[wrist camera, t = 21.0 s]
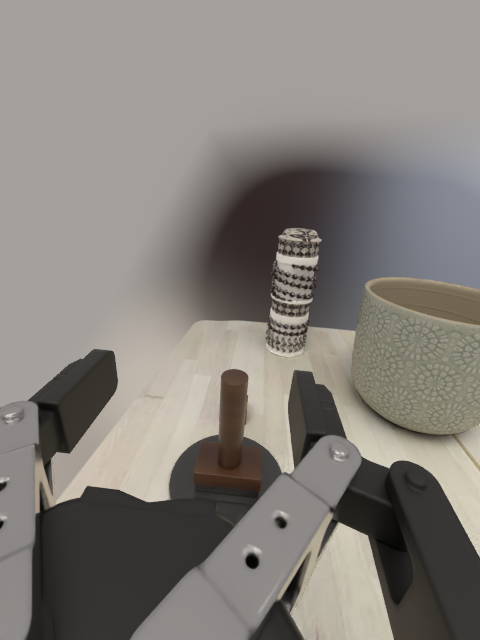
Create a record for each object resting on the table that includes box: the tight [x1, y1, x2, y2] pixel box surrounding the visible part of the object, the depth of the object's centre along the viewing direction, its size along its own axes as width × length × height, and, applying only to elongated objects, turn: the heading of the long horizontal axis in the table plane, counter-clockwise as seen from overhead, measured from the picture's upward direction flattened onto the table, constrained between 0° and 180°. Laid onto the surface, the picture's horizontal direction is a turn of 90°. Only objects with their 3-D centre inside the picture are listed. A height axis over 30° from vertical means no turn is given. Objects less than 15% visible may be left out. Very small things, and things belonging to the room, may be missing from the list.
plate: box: [169, 435, 282, 525], centre depth 33 cm, size 13×13×1 cm
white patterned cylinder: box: [266, 228, 321, 357], centre depth 58 cm, size 9×9×25 cm
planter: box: [352, 277, 480, 435], centre depth 44 cm, size 21×21×19 cm
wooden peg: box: [193, 369, 262, 498], centre depth 30 cm, size 4×7×14 cm, turn 85°
